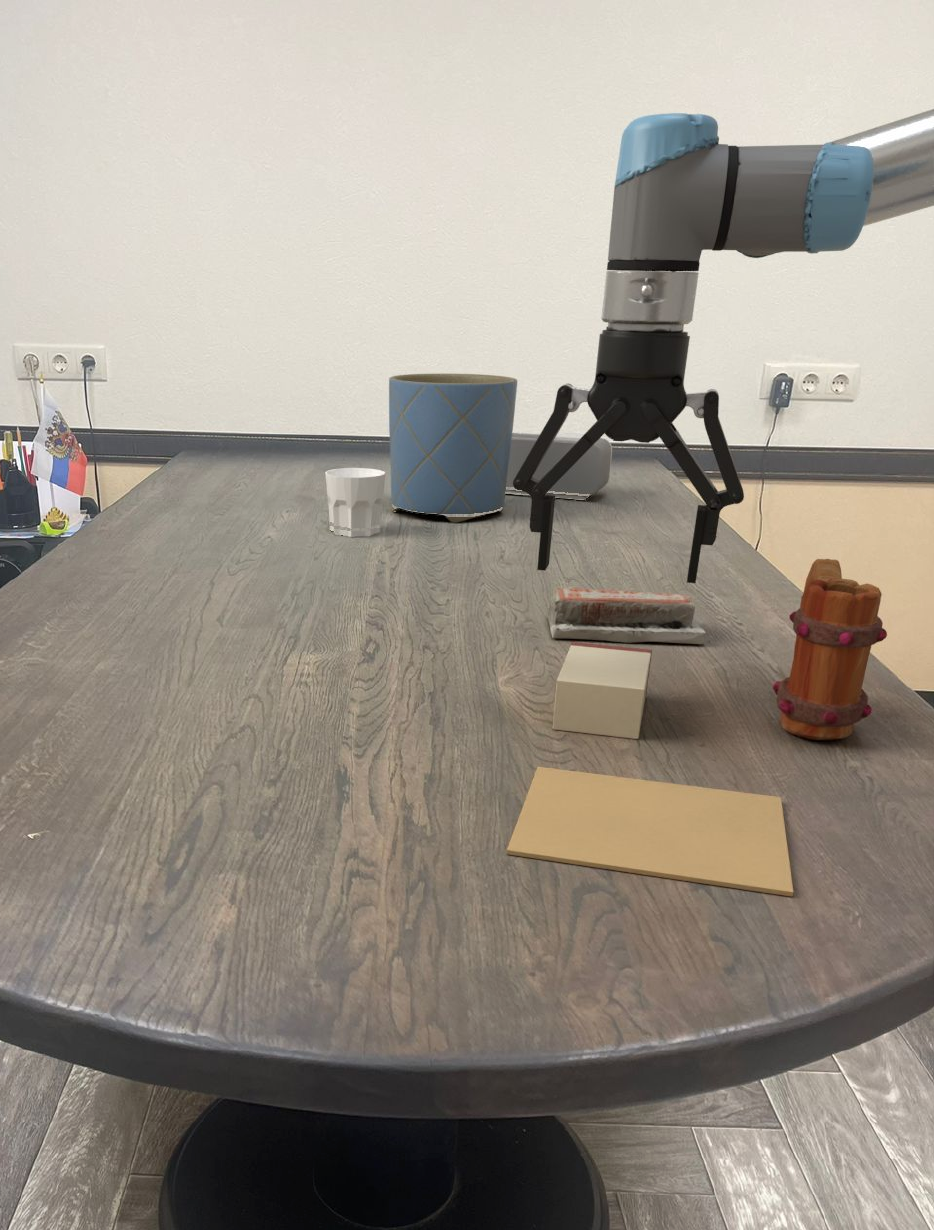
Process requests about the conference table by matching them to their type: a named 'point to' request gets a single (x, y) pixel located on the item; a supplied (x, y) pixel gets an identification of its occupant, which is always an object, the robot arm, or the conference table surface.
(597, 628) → the grey boxy piece
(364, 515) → the cup
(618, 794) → the cork mat
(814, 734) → the mug
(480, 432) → the planter
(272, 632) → the conference table surface
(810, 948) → the conference table surface
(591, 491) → the grey rounded block
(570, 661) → the red-capped cream block
